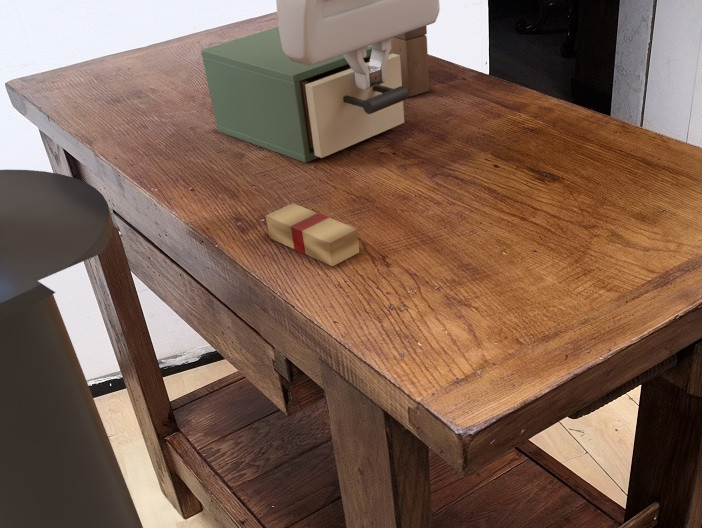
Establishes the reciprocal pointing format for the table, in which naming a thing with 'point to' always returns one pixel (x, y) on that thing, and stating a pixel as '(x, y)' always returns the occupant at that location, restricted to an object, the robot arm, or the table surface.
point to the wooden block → (413, 60)
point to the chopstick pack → (313, 234)
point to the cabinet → (262, 92)
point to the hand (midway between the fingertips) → (371, 85)
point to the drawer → (350, 107)
